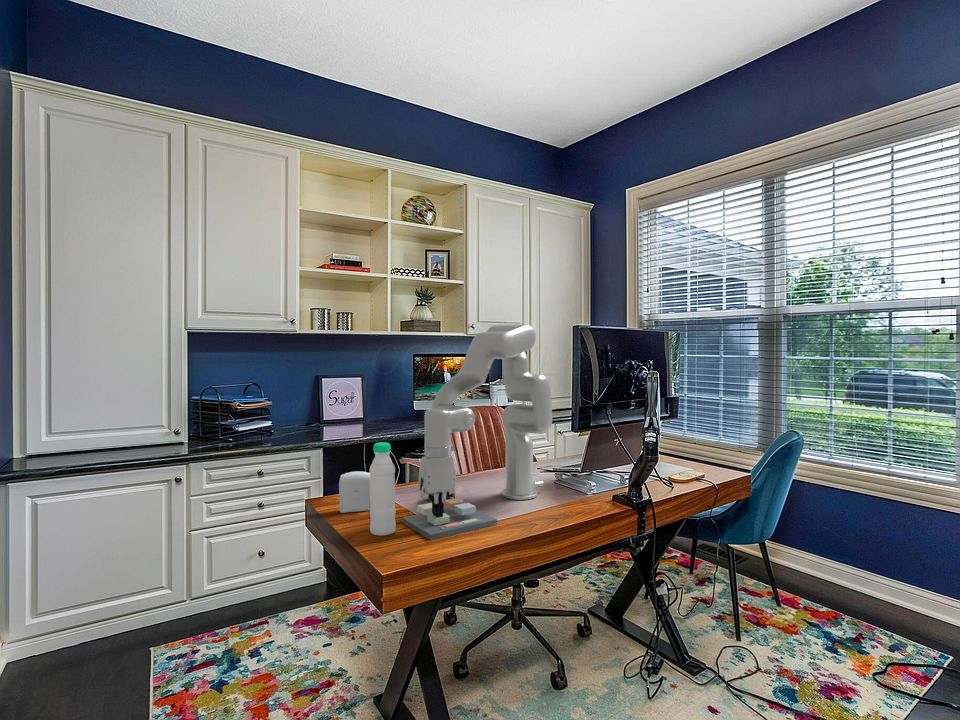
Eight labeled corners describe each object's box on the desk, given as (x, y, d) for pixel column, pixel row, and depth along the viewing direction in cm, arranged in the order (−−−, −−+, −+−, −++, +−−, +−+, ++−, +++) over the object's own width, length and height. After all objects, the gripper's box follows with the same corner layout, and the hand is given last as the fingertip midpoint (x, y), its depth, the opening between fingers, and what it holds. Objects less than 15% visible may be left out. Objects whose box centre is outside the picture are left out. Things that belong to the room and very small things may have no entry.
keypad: (465, 509, 169) (465, 503, 169) (497, 524, 155) (497, 517, 155) (402, 522, 157) (402, 516, 157) (430, 540, 143) (430, 532, 143)
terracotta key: (457, 503, 165) (457, 497, 165) (464, 507, 162) (464, 501, 162) (443, 506, 163) (443, 500, 163) (451, 509, 159) (451, 503, 159)
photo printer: (339, 514, 165) (338, 474, 165) (339, 509, 169) (339, 471, 169) (373, 511, 168) (372, 472, 167) (372, 507, 172) (372, 469, 172)
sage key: (441, 518, 155) (441, 512, 155) (449, 522, 152) (449, 516, 152) (427, 521, 153) (427, 515, 153) (434, 525, 149) (434, 519, 149)
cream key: (431, 508, 160) (431, 502, 160) (438, 512, 157) (438, 506, 157) (417, 511, 158) (417, 505, 158) (424, 515, 154) (424, 509, 154)
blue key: (467, 508, 160) (467, 502, 160) (475, 512, 157) (475, 506, 157) (454, 511, 158) (454, 505, 158) (462, 515, 154) (462, 509, 154)
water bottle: (365, 532, 149) (364, 443, 148) (386, 526, 154) (385, 440, 153) (379, 538, 144) (378, 446, 143) (400, 532, 149) (400, 443, 148)
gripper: (453, 447, 159) (453, 508, 159) (408, 452, 150) (408, 517, 151) (467, 451, 153) (467, 514, 153) (420, 457, 144) (420, 524, 145)
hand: (437, 515), depth 152 cm, fingers closed
